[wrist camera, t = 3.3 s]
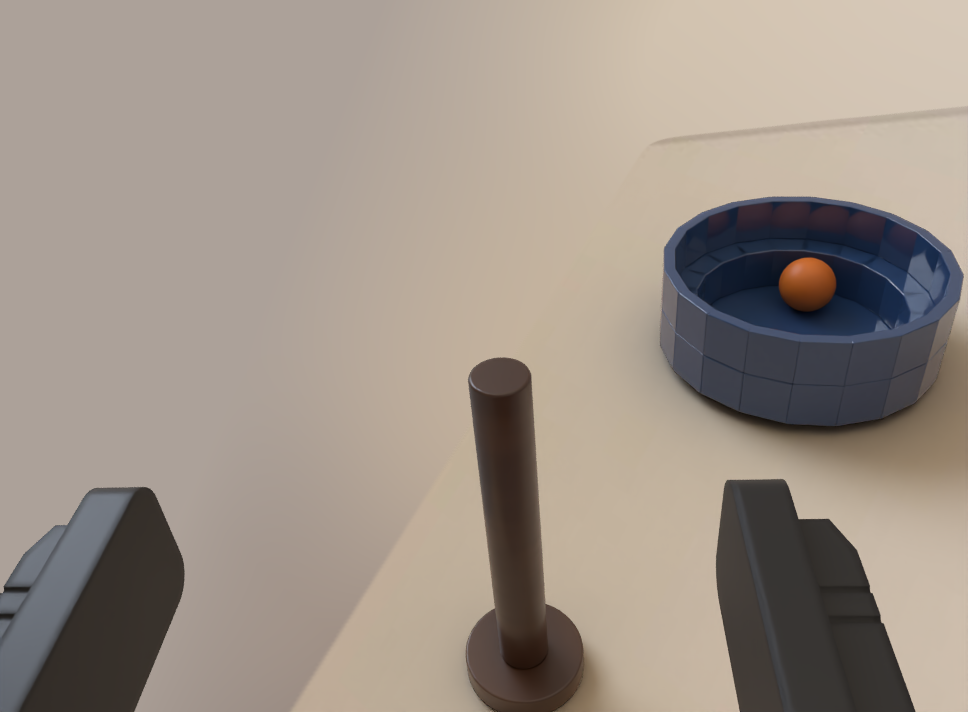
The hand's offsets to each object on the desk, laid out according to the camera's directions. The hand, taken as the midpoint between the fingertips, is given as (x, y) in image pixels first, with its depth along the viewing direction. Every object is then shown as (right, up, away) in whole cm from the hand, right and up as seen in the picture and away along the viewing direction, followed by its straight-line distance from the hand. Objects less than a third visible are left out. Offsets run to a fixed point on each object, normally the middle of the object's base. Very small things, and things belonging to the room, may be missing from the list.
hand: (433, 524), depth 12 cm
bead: (+19, +6, +36) cm, 41 cm away
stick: (+2, -9, +21) cm, 23 cm away
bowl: (+17, +3, +35) cm, 39 cm away
